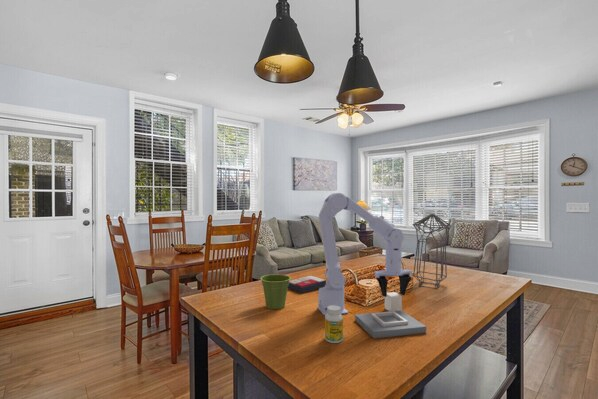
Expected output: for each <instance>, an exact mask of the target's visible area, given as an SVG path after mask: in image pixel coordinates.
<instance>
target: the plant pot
mask: <svg viewBox="0 0 598 399" xmlns="http://www.w3.org/2000/svg"><path fill="white" fill-rule="evenodd" d="M259 278H260V279H259V280H260V281H261V285H262V287H263V294H264V301H265V308H267V309H270V310H275V311H277V310H281V309H283V308H284V307H285V306H286V302H287V301H286V300H287V294H288V289H289V288H288V285H289V281H291V279H292V277H291V276H290V275H286V274H277V273H276V274H275V273H273V274H265V275H262V276H260V277H259Z"/></svg>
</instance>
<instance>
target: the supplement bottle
mask: <svg viewBox="0 0 598 399" xmlns="http://www.w3.org/2000/svg"><path fill="white" fill-rule="evenodd" d="M327 312H328V313H327V314H326V315H324V338H325V341H326V342H328V343H330V344H338V343H341V342H342V341H343V340H344V325H343V324H344V317H343V314H340V312H341V308H340V307H339V306H334V305H332V306H328V307H327Z"/></svg>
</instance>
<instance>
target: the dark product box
mask: <svg viewBox="0 0 598 399" xmlns="http://www.w3.org/2000/svg"><path fill="white" fill-rule="evenodd" d="M326 283H327V279H326V280H325V279H323V278H320V277H317V276H314V275H307V276H302V277H299V278H296V279H292V280H289V285H288V289H289V290H292V291H295V292H297V293H299V294H306V293H307V294H308V293H310V292H313V291H317V290H319V288H323V287H325V284H326Z"/></svg>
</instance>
